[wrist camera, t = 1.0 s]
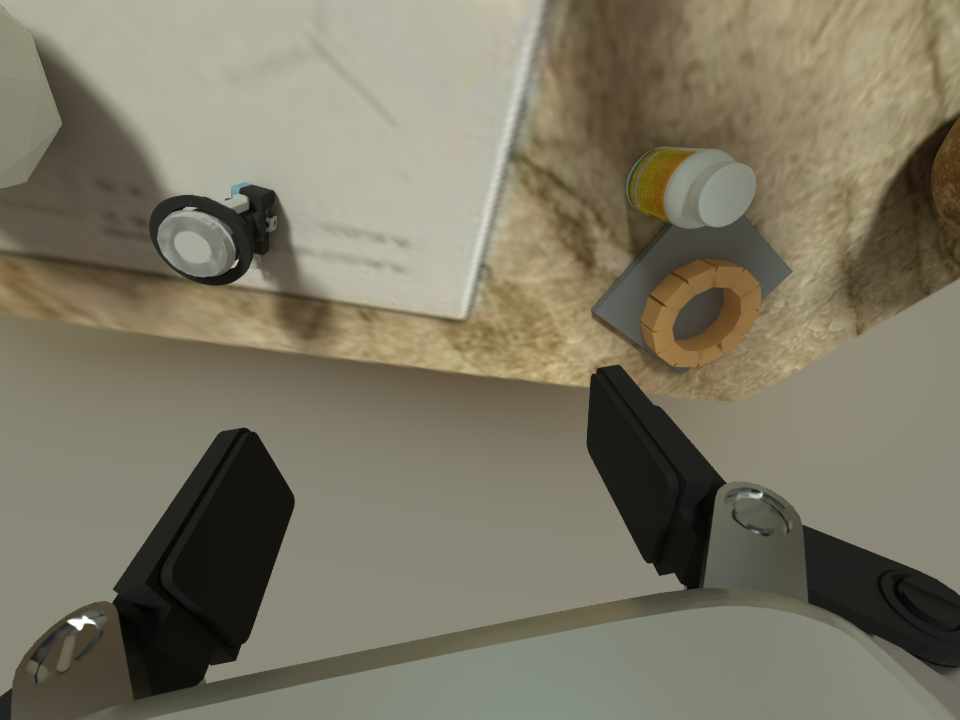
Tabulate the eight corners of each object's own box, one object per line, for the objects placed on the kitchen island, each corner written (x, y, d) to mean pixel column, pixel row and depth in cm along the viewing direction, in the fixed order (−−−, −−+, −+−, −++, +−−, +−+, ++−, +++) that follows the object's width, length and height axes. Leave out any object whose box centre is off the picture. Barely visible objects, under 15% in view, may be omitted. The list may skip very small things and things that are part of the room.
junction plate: (705, 179, 33) (712, 180, 32) (784, 268, 39) (792, 271, 38) (591, 309, 38) (594, 313, 38) (676, 370, 44) (681, 375, 44)
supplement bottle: (686, 140, 31) (778, 142, 23) (678, 206, 34) (758, 229, 26) (624, 153, 31) (695, 159, 23) (622, 218, 34) (684, 244, 26)
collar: (703, 237, 35) (721, 243, 33) (761, 295, 39) (780, 305, 37) (620, 325, 39) (632, 336, 37) (681, 370, 43) (695, 382, 41)
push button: (290, 270, 32) (244, 318, 24) (222, 254, 31) (147, 299, 23) (294, 191, 29) (243, 214, 21) (219, 170, 28) (131, 185, 20)
